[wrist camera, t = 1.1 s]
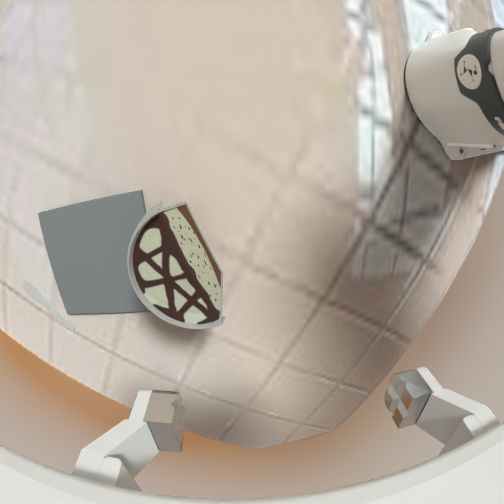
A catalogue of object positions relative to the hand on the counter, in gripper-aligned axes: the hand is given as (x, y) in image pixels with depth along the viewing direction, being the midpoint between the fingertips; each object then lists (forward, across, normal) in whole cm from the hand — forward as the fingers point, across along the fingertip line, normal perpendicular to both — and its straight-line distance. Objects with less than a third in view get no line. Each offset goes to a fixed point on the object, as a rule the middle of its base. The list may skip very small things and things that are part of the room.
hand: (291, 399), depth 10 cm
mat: (+25, +20, +3) cm, 32 cm away
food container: (+25, +8, +2) cm, 27 cm away
